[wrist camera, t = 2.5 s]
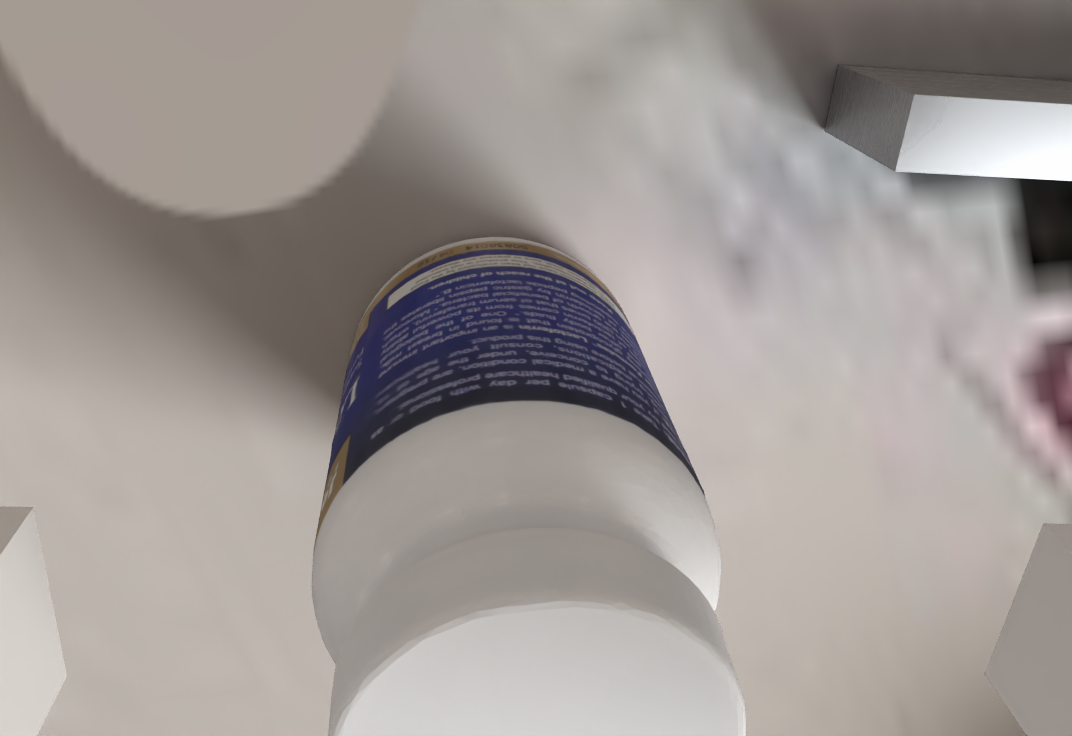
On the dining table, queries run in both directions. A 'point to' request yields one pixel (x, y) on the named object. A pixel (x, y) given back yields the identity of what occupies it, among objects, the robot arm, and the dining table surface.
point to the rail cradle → (955, 122)
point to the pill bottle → (514, 517)
